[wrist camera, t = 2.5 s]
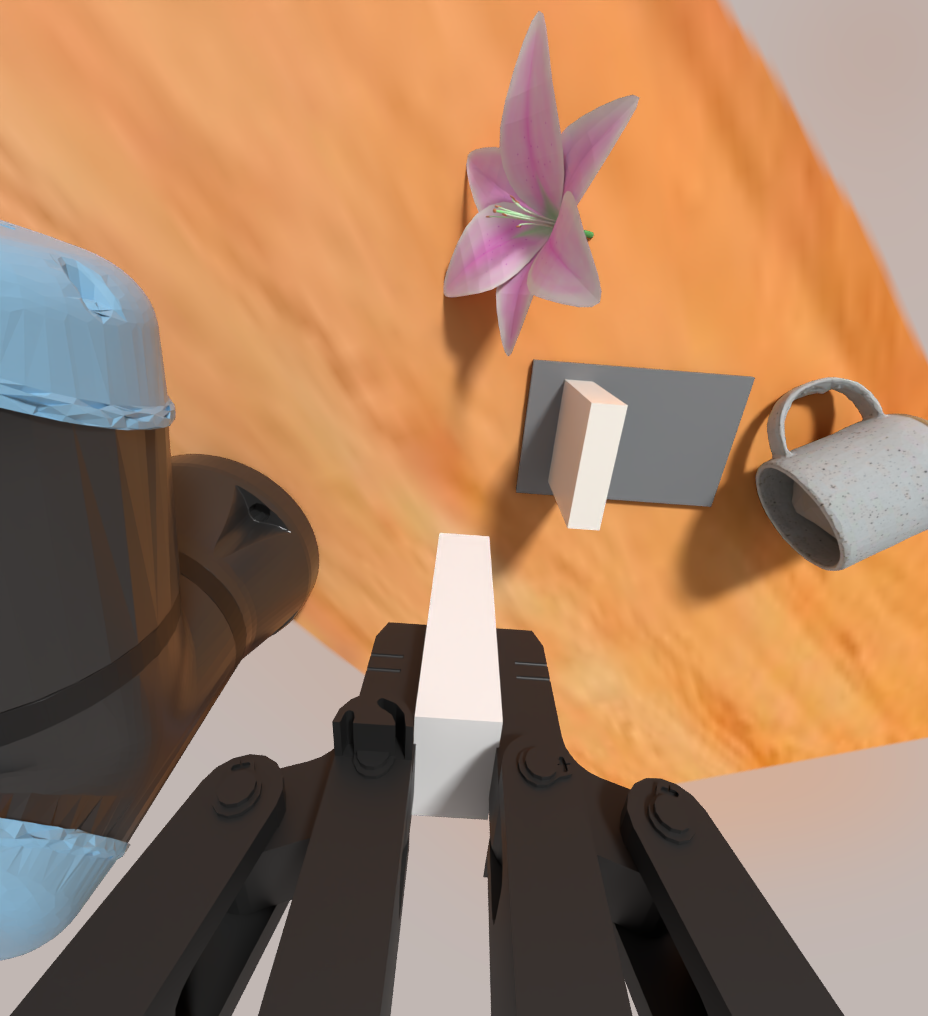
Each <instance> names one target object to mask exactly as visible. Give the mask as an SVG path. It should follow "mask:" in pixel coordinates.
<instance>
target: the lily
mask: <svg viewBox="0 0 928 1016" xmlns="http://www.w3.org/2000/svg"><path fill="white" fill-rule="evenodd" d="M638 100H639V97H637V96H635V95H630V96H626V97H622V98H619V99H616V100H614V101H612V102H609V103H607V104H605V105H602V106H600V107H598V108H596V109H595V110H593V111H591V112H589V113H587V114H585V115H584V116H582V117H580V118H579V119H578V120H576V121H575V122H573V123H572V124H571V125H569V126H568V127H567V128H566V129H565V130H564V131H563V132H562V134H561V132H560V125H559V119H558V113H557V107H556V101H555V95H554V89H553V82H552V75H551V65H550V56H549V47H548V39H547V30H546V24H545V20H544V15H543V13H541V12H540V11H538V13H537V14H536V16H535V17H534V19H533V20H532V22H531V24H530V27H529V29H528V32H527V34H526V37H525V39H524V41H523V44H522V47H521V50H520V53H519V56H518V59H517V62H516V65H515V68H514V71H513V75H512V79H511V82H510V86H509V90H508V93H507V97H506V100H505V105H504V111H503V116H502V121H501V126H500V148H497V147H488V148H481V149H476V150H474V151H472V152H470V153H469V155H468V159H467V164H466V165H467V174H468V179H469V184H470V188H471V191H472V195H473V198H474V201H475V204H476V206H477V209H478V211H479V213H477V214H476V215H475V217H474V218H473V219H472V220H471V221H470V223H469V224H468V225H467V226H466V228H465V230H464V232H463V234H462V235H461V237H460V239H459V241H458V243H457V246H456V248H455V250H454V253H453V255H452V258H451V260H450V263H449V266H448V269H447V272H446V276H445V280H444V295H445V296H446V297H460V296H465V295H471V294H477V293H482V292H485V291H488V290H492V289H493V288H495V287H497V290H496V306H497V316H498V323H499V329H500V335H501V340H502V344H503V347H504V350H505V353H506V354H507V355H508V356H509V355H510V354H511V353H512V351H513V348H514V346H515V343H516V341H517V338H518V336H519V333H520V330H521V328H522V325H523V322H524V320H525V317H526V314H527V312H528V309H529V306H530V303H531V301H532V298H533V295H535V296H537V297H540V298H543V299H546V300H549V301H553V302H557V303H560V304H565V305H571V306H576V307H593V306H594V305H596V304H598V303H599V302H600V298H601V287H600V282H599V277H598V273H597V270H596V267H595V263H594V260H593V257H592V254H591V251H590V248H589V245H588V242H587V239H586V237H588V238H592V237H593V235H594V234H593V232H590V231H586V230H583V226H582V222H581V219H580V215H579V211H578V208H577V205H578V203H579V201H580V200H581V198H582V197H583V195H584V193H585V192H586V190H587V189H588V187H589V186H590V184H591V182H592V181H593V179H594V178H595V176H596V174H597V173H598V171H599V170H600V168H601V166H602V165H603V163H604V161H605V160H606V158H607V157H608V155H609V153H610V152H611V150H612V148H613V147H614V145H615V143H616V142H617V140H618V138H619V137H620V135H621V133H622V132H623V130H624V129H625V127H626V125H627V123H628V122H629V120H630V118H631V116H632V115H633V113H634V111H635V109H636V107H637V103H638Z"/></svg>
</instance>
